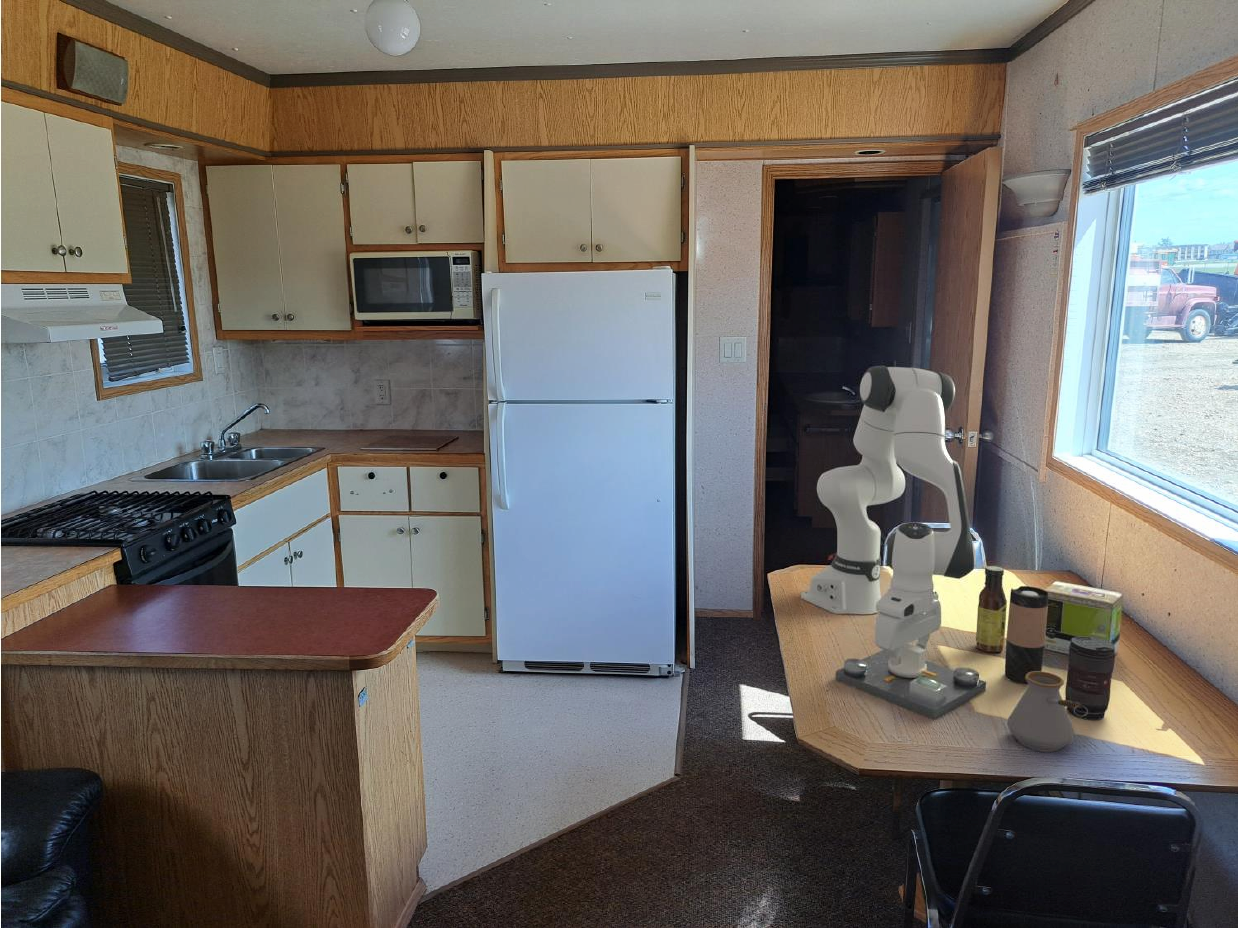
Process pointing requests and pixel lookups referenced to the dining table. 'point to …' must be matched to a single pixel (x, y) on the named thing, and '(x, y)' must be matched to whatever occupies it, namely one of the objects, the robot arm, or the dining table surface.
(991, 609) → the sauce bottle
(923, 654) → the knob
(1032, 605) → the travel mug
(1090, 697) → the camera lens
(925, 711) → the levelling base
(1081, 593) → the tea box
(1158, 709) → the dining table surface
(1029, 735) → the coffee pot
